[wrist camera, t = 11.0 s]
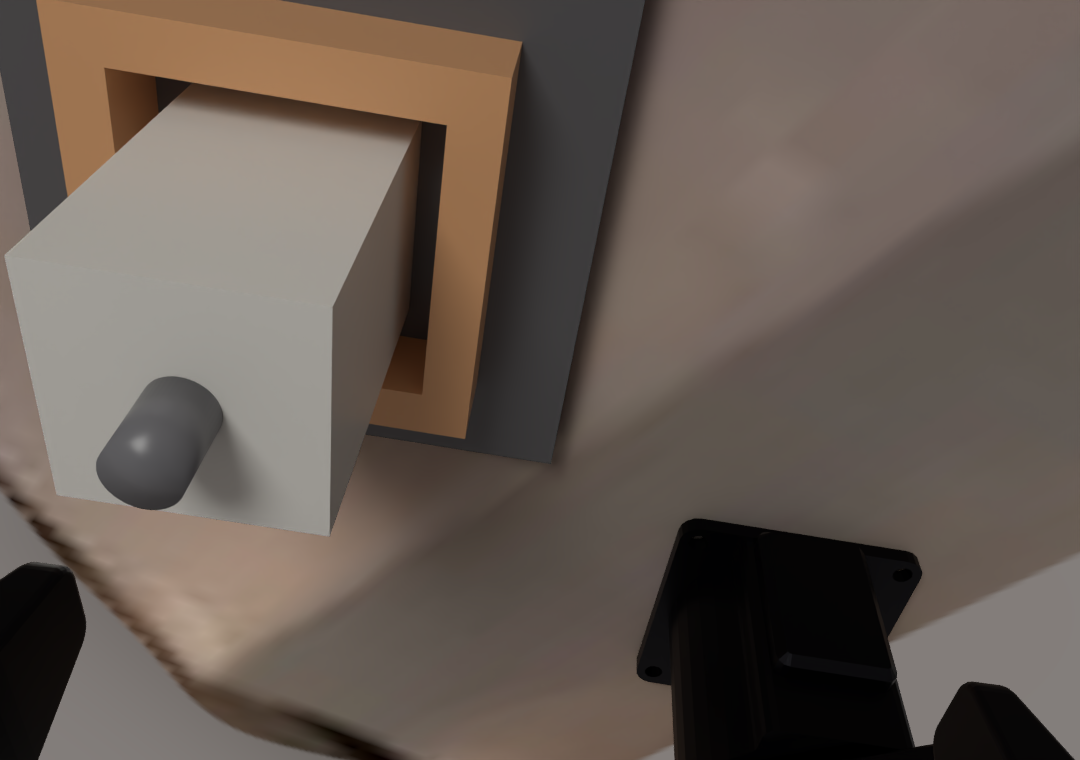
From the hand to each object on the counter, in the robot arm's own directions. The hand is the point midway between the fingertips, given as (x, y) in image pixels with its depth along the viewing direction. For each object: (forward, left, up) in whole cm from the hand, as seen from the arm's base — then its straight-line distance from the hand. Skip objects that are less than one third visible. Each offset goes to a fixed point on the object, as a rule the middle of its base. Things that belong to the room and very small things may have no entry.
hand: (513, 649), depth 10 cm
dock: (-1, +5, -13) cm, 14 cm away
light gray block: (-1, +5, -12) cm, 13 cm away
